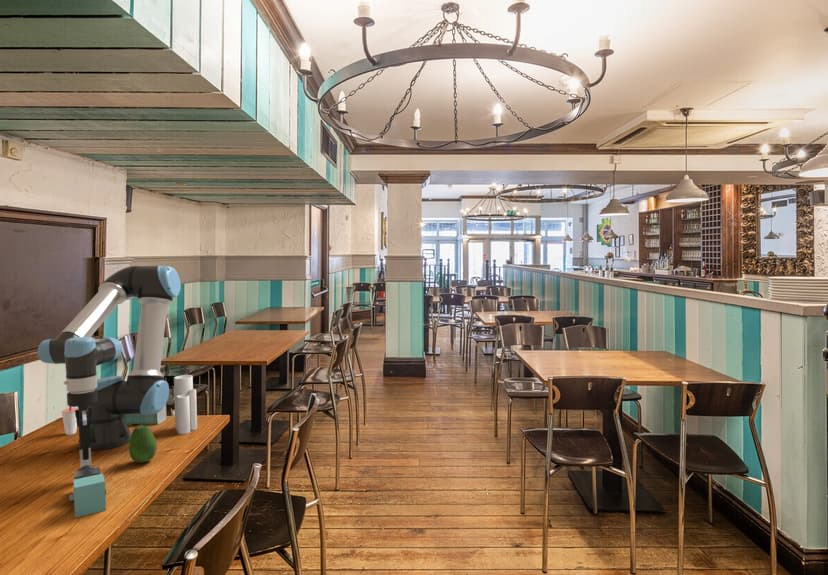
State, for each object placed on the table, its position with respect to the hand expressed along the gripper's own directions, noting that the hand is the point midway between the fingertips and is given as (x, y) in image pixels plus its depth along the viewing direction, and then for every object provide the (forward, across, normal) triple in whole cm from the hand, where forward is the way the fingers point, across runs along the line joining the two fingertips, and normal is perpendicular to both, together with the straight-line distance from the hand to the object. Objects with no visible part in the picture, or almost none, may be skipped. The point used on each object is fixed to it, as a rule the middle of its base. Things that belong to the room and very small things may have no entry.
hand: (86, 468), depth 150 cm
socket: (+3, +22, 0) cm, 23 cm away
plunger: (+2, +15, 0) cm, 16 cm away
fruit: (+4, -5, +16) cm, 17 cm away
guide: (+3, +13, 0) cm, 13 cm away
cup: (+4, -53, -2) cm, 53 cm away
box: (+5, -52, +23) cm, 57 cm away
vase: (+4, -32, +34) cm, 47 cm away
